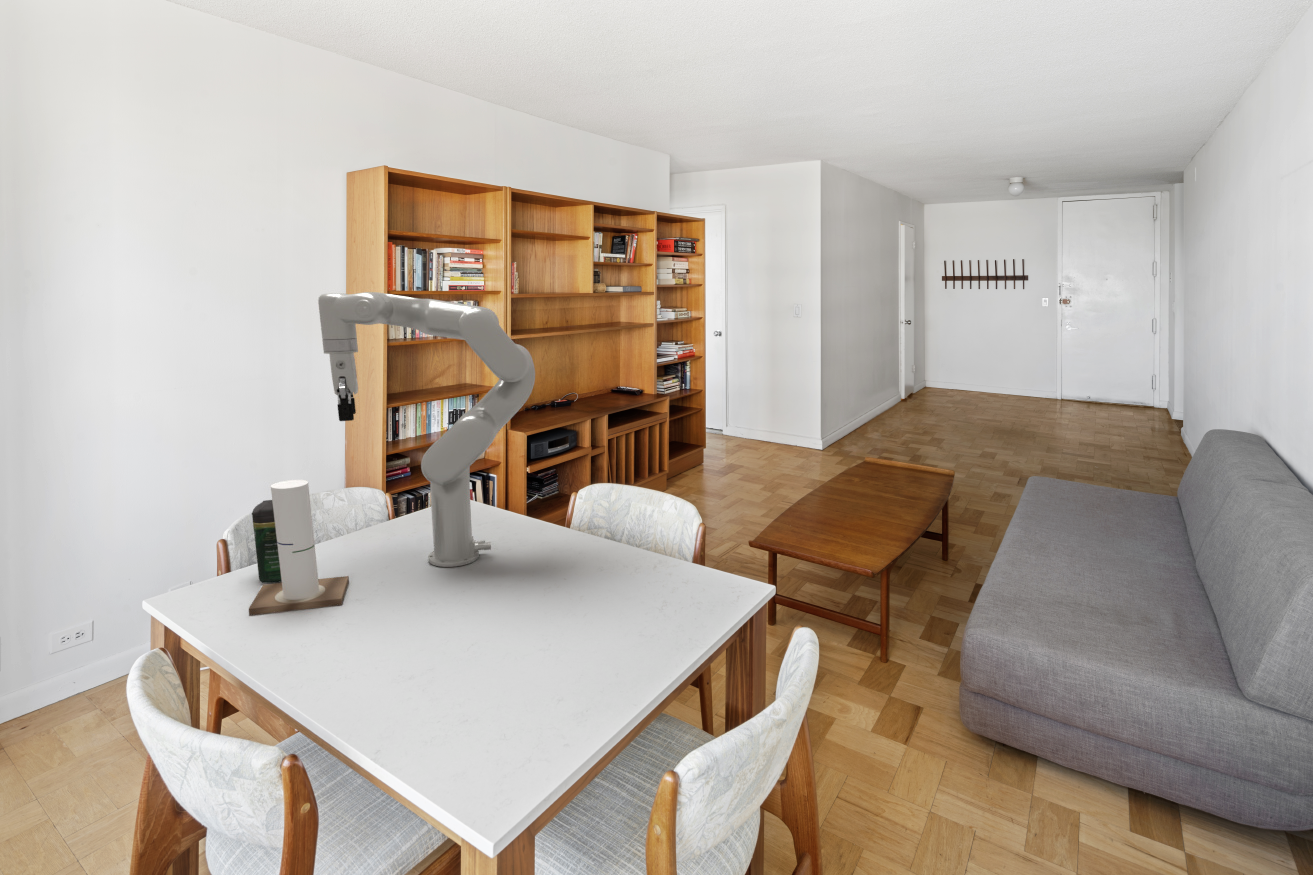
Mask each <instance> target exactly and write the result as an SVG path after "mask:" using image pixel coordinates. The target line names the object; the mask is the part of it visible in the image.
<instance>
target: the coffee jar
mask: <svg viewBox="0 0 1313 875" xmlns="http://www.w3.org/2000/svg"><path fill="white" fill-rule="evenodd" d="M251 517H252V527H253V534H254V536H253V537H254V544H255V551H256V553H255V554H256V563H257V575H258V579H259V582H260V583H262V584H263V583H266V584H275V583H282V580H281V571H280V562H279V554H278V545H277V536H276V528H275V519H274V510H273V502H272V499H267V500H263V501H261V502H260V503H259V504H257V505H256V506H254V508H253V510H252V513H251Z"/></svg>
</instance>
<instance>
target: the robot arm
mask: <svg viewBox="0 0 1313 875" xmlns="http://www.w3.org/2000/svg"><path fill="white" fill-rule="evenodd" d="M317 300H318V310H319V311H318V312H319V320H320V330H321V338H322V348H323V354H326V355H329V363H330V364H329V365H330V372H331V378H332V385H333V391H334V392H333V393H334V394H335V396H337V411H338V412H337V414H338V415H337V416H338V420H339V422H349V421H354V419H355V414H356V412H357V410H356V400H355V397H354V395H357V394H358V392H359V384H358V376H357V366H356V359H355V353H358V352H359V348H358V336H357V326H356V325H365V326H372V325H378V324H381V325H389V326H395V327H403V328H407V329H408V328H409V329H413V330H417V331H419V332H421V333H422V334H425V335H429V336H434V337H439V338H440V337H442V338H448V339H454V340H455V339H456V340H462V341H463V340H464V341H465V342H466V344H467V345H468V346H469V347H470V348H471V350H472V351H473V352H474V354H475V355H476V356H478V358H479V359H480V360H481V361H482V362H483V363H484V365H485V366H486V367H487V368H488V369H489V370H490V371H491V373H493V375H494V376H495V377H496V378H497V379H498V380H497V382H496V383H495V384H494V386H492V388H491V389H490V390H488V392H487V393H486V394H485V395H484V396H483V397H482V398H481V399H480V400H479V401H477V403H475V405H474V406H472V407H471V408H470V409H469V410H467V411H466V412H464V413H463V414H462V415H461V416H460V418H458V419H457V420H456V422H454V423H453V425H452V426H451V427H450V428H449V429H448V430H447V431H446V432H444V434H443V435H442V436H441V437H440V438H438V439H437V440H435V441H434V442H433V443H432V444H431V445H430V446H429V448H428V449H427V450H426V452H424V454H423V456H422V458H421V463H420V468H421V472H422V475H423V476H424V477H425V479H426V480H427V481H429V483H430V486H429V487H430V489H429V490H430V505H431V508H430V509H431V521H432V536H433V537H432V539H433V550H432V551H431V552H430V553H429V554H428V556H427V558H428V559H427V561H428V563H429V564H431V565H433V566H435V567H441V568H442V567H443V568H450V567H451V568H453V567H459V566H464V565H465V566H466V565H468V564H472V563H473V562H475V561H476V560H478V558H479V557H480V551H489V550H490V551H492V543H491V541H488V542H486V540H478V541H477V540H474V536H473V529H472V528H473V527H472V509H471V488H470V487H471V486H470V484H471V481H470V479H471V478H470V470H471V469H470V466H472V464H474V463H475V462H476V461H477V460H478V458H480V457H481V455H483V454H484V453H485V452H486V451H487V450H488V448H489V447H490V446H491V445H492V443H493V442H494V440H495V439H496V436H497V434H498V433H499V432H500V431H501V430H502V429H503V427H504V426H505V425H506V424H508V423H509V421H510V420H511V419H512V418H513V417H514V416H515V415H516V414H517V413H518V412H519V410H520V409H521V408H522V407H523V406H524V404H526V402H528V400H529V398H530V396H531V394H532V393H533V389H534V386H535V381H536V369H535V364H534V360H533V358H532V355H531V353H530V351H529V350H528V349H527V348H526V347H524V346H523V345H521V344H517V343H515V342H514V340H513V339H512V338H511V337H510V336H509V335H508V334H507V332H506V331H505V330H504V329H503V328H502V326H501V325H500V321H499V318H498V315H497V313H495V312H494V311H493V310H492V309H490V308H488V307H484V306H479V305H472V304H466V303H465V304H464V303H458V302H451V301H446V300H439V299H434V298H433V299H432V298H418V297H409V296H405V295H396V294H392V293H385V292H374V291H372V292H371V291H370V292H369V291H368V292H367V291H365V292H356V293H352V294H349V293H323V294H321V295H319V297H318V299H317Z"/></svg>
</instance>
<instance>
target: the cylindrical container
mask: <svg viewBox="0 0 1313 875" xmlns="http://www.w3.org/2000/svg"><path fill="white" fill-rule="evenodd" d="M309 487H310V486H309V482H308V480H304V479H288V480H282V481H277V482H276V483H272V484H271V485H270V490H271V491H270V492H271V500H272V502H273V510H274V519H275V528H276V536H277V545H278V554H279V562H280V571H281V580H282V582H281V583H282V588H283V596H284V598H285V599H289V600H299V599H305V598H308V597H311V596H313V595H315V594H317V593H318V592H319V582H318V579H319V573H318V565H317V554H316V546H315V545H316V544H315V536H314V534H315V533H314V526H313V515H312V507H311V498H310V496H311V495H310V488H309Z"/></svg>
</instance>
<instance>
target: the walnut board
mask: <svg viewBox="0 0 1313 875" xmlns="http://www.w3.org/2000/svg"><path fill="white" fill-rule="evenodd" d="M318 582H319V592H318V593H317V594H315V595H313V596H311V597H308V598H305V599H299V600H289V599H285V598H284V596H283V588H282V582H279V583H266V584H262V586H261V587H260V589H259V591H258V592H257V594H256V596H255V597H254V600H252V602H251V604H250V605H249V607H248V616H256V615H257V616H258V615H267V614H274V613H275V614H276V613H284V612H291V611H292V612H294V611H302V610H309V609H319V608H325V607H335V606H342V605H343V603H344V600H345V596H346V594H347V593H346V592H347V589H348V587H349V583H350V576H349V575H344V576H335V577H326V578H324V577H323V578H318Z"/></svg>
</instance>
